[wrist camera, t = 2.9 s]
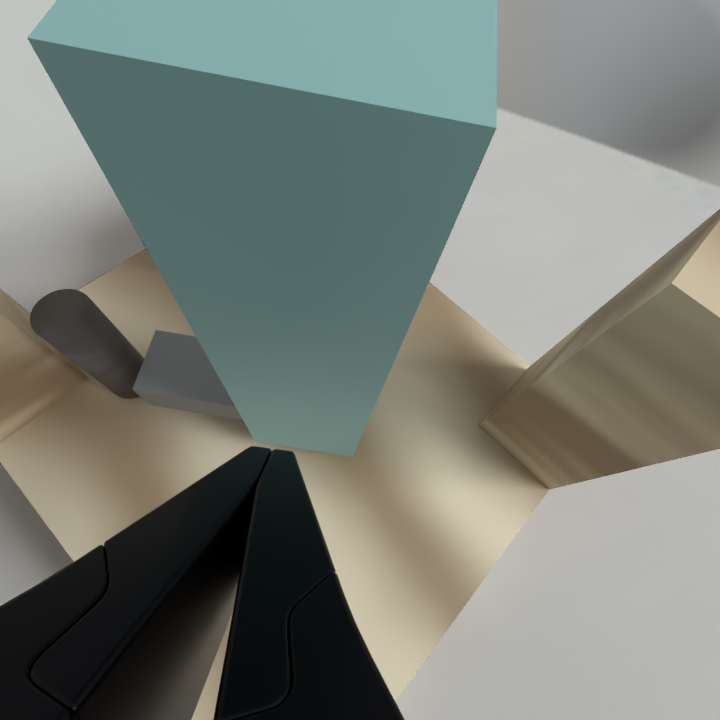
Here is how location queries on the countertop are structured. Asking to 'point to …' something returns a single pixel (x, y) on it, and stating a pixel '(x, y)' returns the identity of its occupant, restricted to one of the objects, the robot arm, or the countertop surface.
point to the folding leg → (282, 184)
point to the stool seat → (371, 433)
